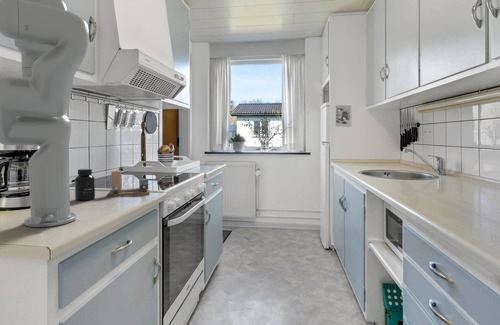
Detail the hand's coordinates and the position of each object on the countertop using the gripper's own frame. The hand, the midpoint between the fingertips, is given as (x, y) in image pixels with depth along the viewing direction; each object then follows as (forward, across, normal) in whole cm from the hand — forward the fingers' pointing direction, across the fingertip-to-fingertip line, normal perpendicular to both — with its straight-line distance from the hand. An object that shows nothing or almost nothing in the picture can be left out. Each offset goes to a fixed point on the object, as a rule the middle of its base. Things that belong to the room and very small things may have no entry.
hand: (37, 125), depth 104 cm
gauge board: (+28, +14, -29) cm, 43 cm away
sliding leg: (+26, +13, -24) cm, 38 cm away
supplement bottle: (+28, +7, -13) cm, 32 cm away
